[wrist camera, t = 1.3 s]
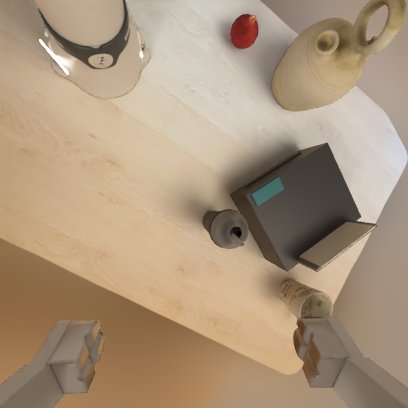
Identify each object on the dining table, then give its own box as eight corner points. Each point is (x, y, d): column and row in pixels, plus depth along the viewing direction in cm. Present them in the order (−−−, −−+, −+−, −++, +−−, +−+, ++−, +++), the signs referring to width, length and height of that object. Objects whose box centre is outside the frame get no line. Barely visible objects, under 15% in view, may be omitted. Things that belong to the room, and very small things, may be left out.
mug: (298, 270, 58) (328, 286, 48) (309, 313, 60) (340, 337, 50) (271, 282, 56) (296, 301, 47) (283, 326, 58) (309, 353, 48)
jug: (259, 109, 53) (350, 40, 29) (272, 45, 53) (372, -77, 29) (313, 125, 57) (433, 76, 33) (324, 66, 57) (453, -28, 33)
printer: (229, 193, 53) (260, 193, 38) (299, 148, 56) (354, 132, 41) (265, 259, 56) (308, 284, 41) (330, 213, 60) (391, 220, 44)
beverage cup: (232, 219, 53) (279, 235, 34) (212, 242, 52) (248, 272, 33) (211, 199, 52) (247, 203, 32) (190, 222, 51) (214, 241, 31)
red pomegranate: (236, 61, 52) (250, 38, 44) (220, 39, 50) (233, 11, 43) (254, 47, 52) (271, 22, 45) (239, 25, 51) (255, -5, 44)
